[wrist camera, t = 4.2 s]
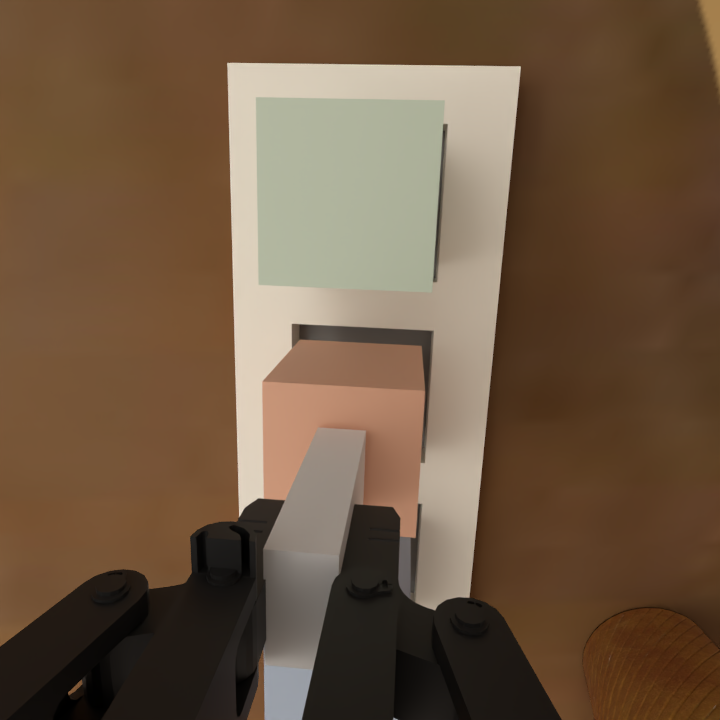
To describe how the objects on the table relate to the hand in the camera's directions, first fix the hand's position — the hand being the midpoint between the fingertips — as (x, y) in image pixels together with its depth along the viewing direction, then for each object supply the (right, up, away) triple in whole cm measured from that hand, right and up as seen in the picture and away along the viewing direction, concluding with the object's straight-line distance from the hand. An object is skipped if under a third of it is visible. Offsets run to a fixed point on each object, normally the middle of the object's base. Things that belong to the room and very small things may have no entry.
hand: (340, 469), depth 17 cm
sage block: (+1, +9, +4) cm, 10 cm away
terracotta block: (+1, +2, +6) cm, 6 cm away
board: (+1, +2, +9) cm, 9 cm away
